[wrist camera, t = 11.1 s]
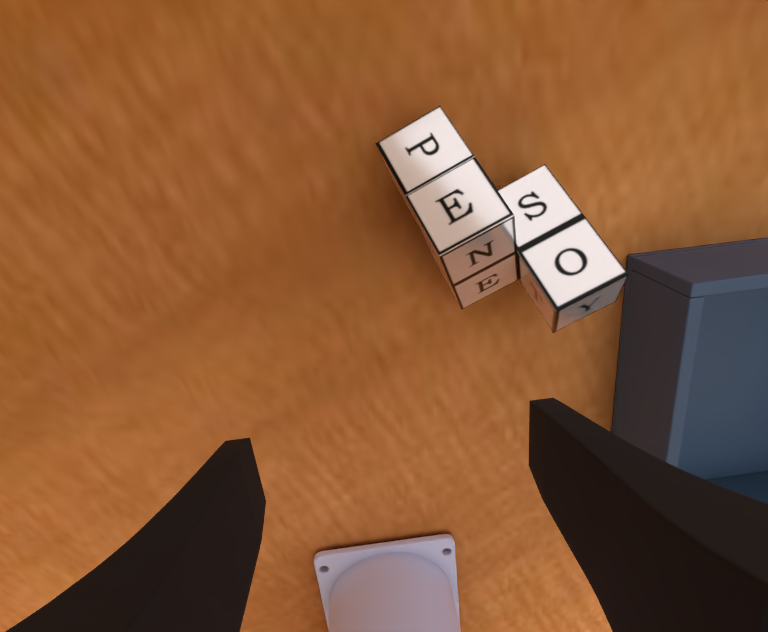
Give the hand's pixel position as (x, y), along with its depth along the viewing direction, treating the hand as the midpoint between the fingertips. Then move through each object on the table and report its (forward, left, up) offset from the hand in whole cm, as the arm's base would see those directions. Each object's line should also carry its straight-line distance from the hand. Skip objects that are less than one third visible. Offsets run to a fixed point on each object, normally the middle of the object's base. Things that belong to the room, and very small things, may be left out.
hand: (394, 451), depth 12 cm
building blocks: (+4, -5, -11) cm, 12 cm away
